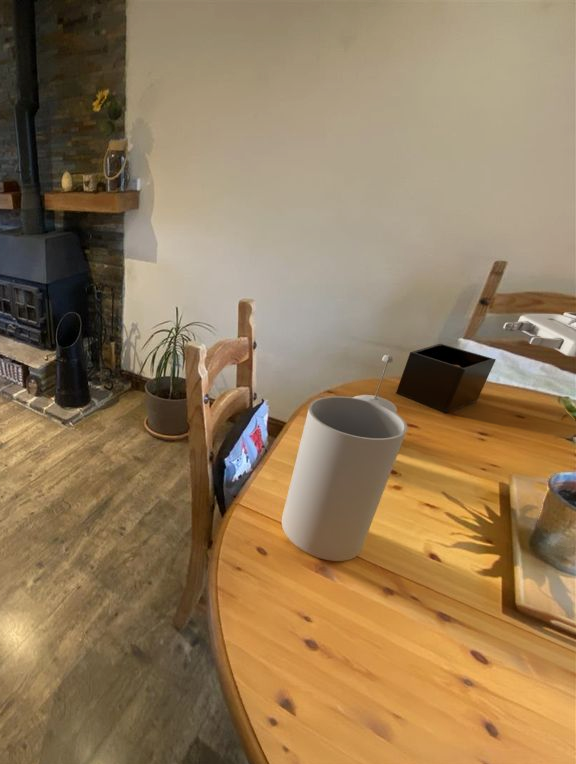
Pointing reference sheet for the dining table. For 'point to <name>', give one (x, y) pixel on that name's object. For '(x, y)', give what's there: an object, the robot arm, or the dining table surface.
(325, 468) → the cylinder vase
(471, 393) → the bin
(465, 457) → the dining table surface
